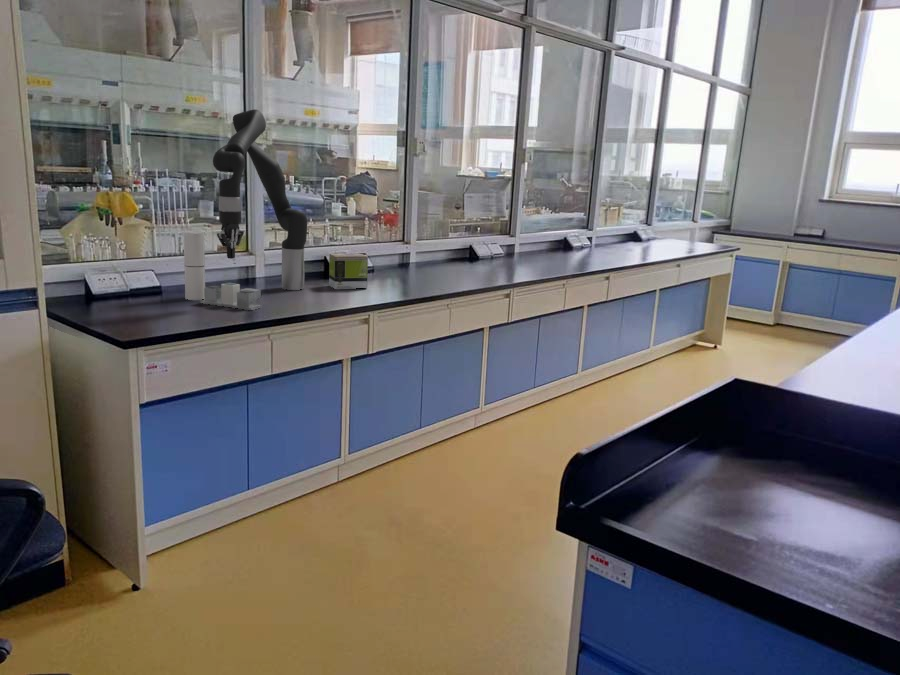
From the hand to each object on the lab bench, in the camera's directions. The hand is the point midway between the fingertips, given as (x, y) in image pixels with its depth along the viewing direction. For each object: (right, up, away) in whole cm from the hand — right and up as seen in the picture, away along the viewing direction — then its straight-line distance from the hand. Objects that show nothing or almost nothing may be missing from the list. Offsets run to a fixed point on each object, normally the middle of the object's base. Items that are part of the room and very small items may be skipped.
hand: (231, 258), depth 248 cm
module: (-1, -16, +4) cm, 17 cm away
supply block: (+1, -13, +20) cm, 24 cm away
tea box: (+34, -7, +57) cm, 66 cm away
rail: (-2, -17, +4) cm, 18 cm away
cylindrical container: (-18, -14, +12) cm, 26 cm away
